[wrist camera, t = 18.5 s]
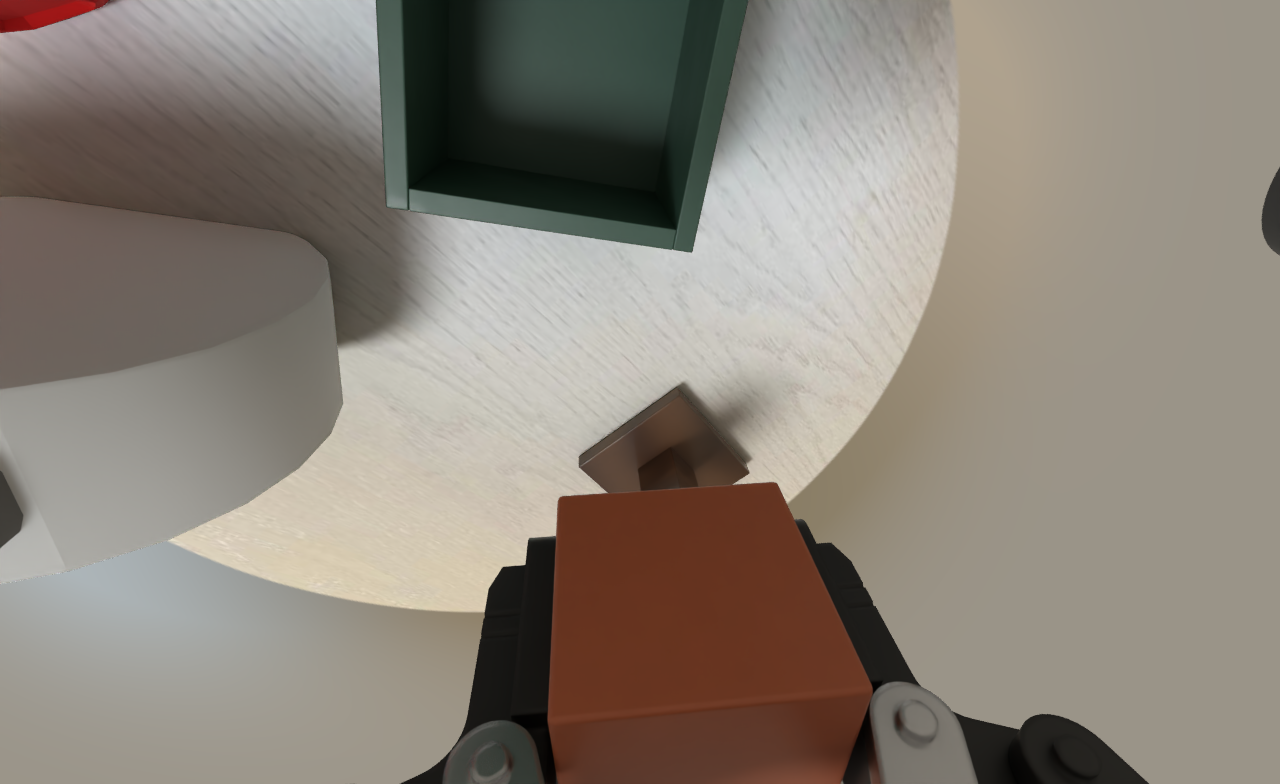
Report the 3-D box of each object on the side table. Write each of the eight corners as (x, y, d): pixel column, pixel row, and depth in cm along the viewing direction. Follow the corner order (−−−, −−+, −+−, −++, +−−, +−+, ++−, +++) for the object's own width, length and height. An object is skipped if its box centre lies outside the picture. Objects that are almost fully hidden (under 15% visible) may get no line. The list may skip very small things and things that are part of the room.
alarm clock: (-16, 318, 32) (-691, 613, 15) (-75, 181, 28) (-1061, 368, 11) (380, 360, 35) (199, 637, 18) (373, 244, 32) (140, 456, 15)
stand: (677, 386, 38) (721, 534, 27) (746, 463, 43) (811, 621, 31) (578, 456, 41) (578, 622, 29) (652, 523, 45) (679, 692, 33)
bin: (665, 207, 32) (692, 253, 25) (434, 170, 30) (385, 207, 23) (741, -190, 24) (817, -306, 16) (430, -280, 22) (351, -461, 14)
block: (777, 479, 11) (877, 690, 7) (755, 621, 13) (823, 838, 9) (557, 494, 10) (546, 722, 7) (572, 637, 13) (570, 869, 9)
